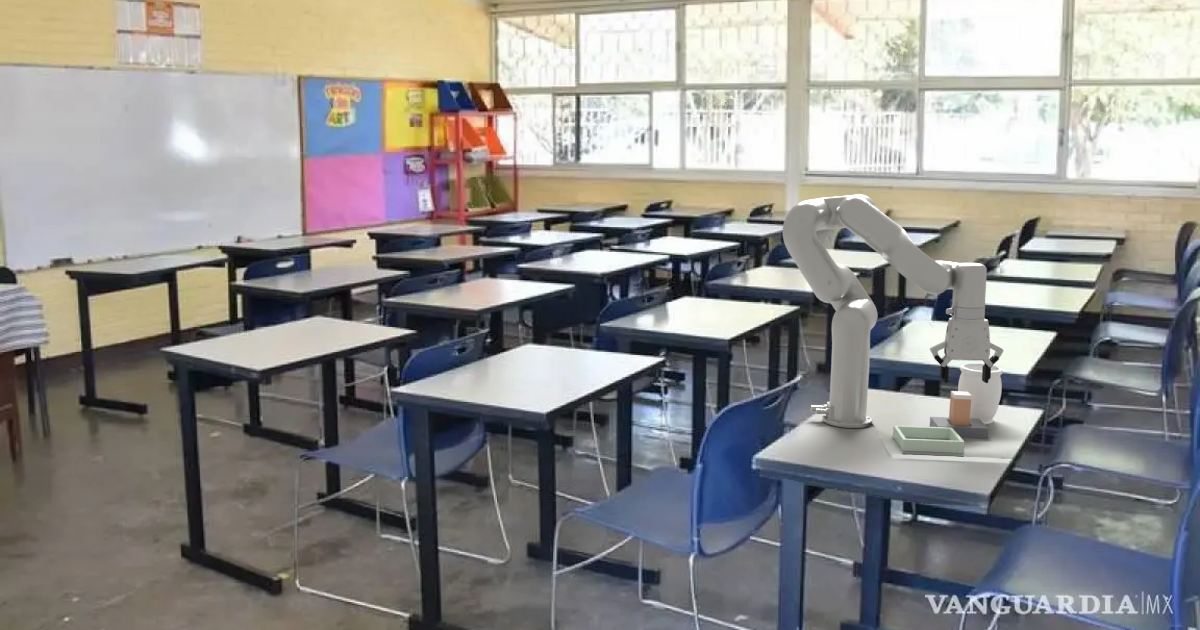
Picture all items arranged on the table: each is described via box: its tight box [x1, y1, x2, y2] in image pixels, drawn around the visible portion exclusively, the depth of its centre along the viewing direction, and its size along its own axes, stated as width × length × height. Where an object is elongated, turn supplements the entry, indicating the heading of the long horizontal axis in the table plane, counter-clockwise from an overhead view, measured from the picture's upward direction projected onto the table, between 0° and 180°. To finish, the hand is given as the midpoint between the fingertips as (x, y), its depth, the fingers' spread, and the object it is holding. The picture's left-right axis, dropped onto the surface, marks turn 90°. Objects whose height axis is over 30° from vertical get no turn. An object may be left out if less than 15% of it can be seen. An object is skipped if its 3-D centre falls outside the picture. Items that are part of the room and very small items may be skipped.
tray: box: [892, 425, 965, 458], centre depth 247 cm, size 14×12×4 cm
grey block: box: [929, 416, 990, 439], centre depth 258 cm, size 12×9×4 cm
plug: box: [948, 390, 972, 426], centre depth 257 cm, size 4×4×10 cm
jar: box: [957, 363, 1004, 425], centre depth 269 cm, size 11×10×15 cm
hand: (965, 381), depth 255 cm, fingers open, 9 cm apart
